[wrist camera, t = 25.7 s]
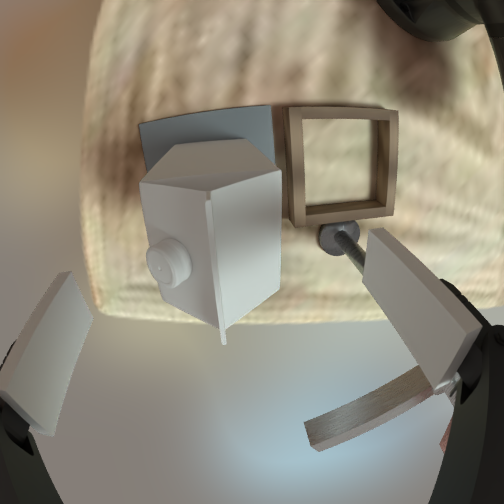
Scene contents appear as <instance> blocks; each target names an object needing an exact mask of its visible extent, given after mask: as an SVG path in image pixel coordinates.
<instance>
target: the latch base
mask: <svg viewBox="0 0 504 504" xmlns="http://www.w3.org/2000/svg"><path fill="white" fill-rule="evenodd" d="M341 230H344V231H346V232H347V233H348V234H349V235H350V236H351V237H352V238H353V239H354V240H355V241H356V242H358V240H359V236H360V229H359V226H358V224H357V222H356V221H355V220H352V221H343V222H335V223H327V224H323V225H322V227H321V229H320V231H319V242H320V245H321V246H322V248H323V249H324V251H325V252H326V253H328V254H330V255H333V256H340V255H344V254H345V253H344V252H343V250H342V249H341V248H340V247H339V245H338V244H337V243H336V242H335V239H334V238H335V235H336V233H337V232H339V231H341Z"/></svg>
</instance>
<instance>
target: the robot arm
mask: <svg viewBox="0 0 504 504" xmlns="http://www.w3.org/2000/svg"><path fill="white" fill-rule="evenodd" d="M377 2H378V3H379V4H380V6H381V7H382V8H383V10H384V11H385V12H386V13H387V14H388V15H389V16H390V17H391V18H392V19H393V20H394V21H395V22H396V23H397V24H398V25H399V26H400V27H402V28H403V29H404V30H406V31H407V32H409V33H410V34H412V35H414V36H416V37H418V38H420V39H423V40H426V41H430V42H439V41H448V40H451V39H454V38H456V37H458V36H459V35H461V34H462V33H464V32H466V31H467V30H469V29H470V28H472V27H474V26H475V25H478V24H484V25H485V28H486V30H487V33H488V36H489V39H490V42H491V45H492V48H493V51H494V54H495V58H496V61H497V64H498V68H499V72H500V76H501V81H502V85H503V90H504V0H377ZM362 282H363V284H364V285H365V286H366V288H367V289H368V291H369V292H370V293H371V295H372V296H373V297H374V299H375V300H376V302H377V303H378V305H379V306H380V307H381V309H382V310H383V312H384V313H385V315H386V316H387V317H388V319H389V320H390V322H391V323H392V325H393V326H394V328H395V329H396V331H397V332H398V334H399V335H400V337H401V338H402V339H403V341H404V343H405V344H406V346H407V347H408V349H409V350H410V352H411V353H412V355H413V357H414V358H415V359H416V361H417V363H418V364H419V366H420V368H421V369H422V371H423V373H424V374H425V376H426V377H427V379H428V381H429V382H430V384H431V386H432V387H433V389H434V390H436V389H438V388H440V387H442V386H444V385H446V384H448V383H450V382H451V380H452V379H453V377H454V375H455V374H456V372H458V374H459V375H460V377H461V378H460V379H459V381H458V382H457V383H456V385H455V386H454V388H453V389H452V391H451V392H450V395H449V397H452V396H453V394H454V393H455V391H456V390H457V392H456V396H455V398H456V399H455V406H454V412H453V417H452V423H451V428H450V433H449V437H448V441H447V446H446V450H445V454H444V457H443V461H442V465H441V468H440V471H439V475H438V478H437V481H436V484H435V487H434V490H433V493H432V496H431V498H430V501H429V503H428V504H504V326H503V325H494V326H491V325H490V323H489V322H488V321H487V320H486V319H485V318H484V317H483V316H482V315H481V313H480V312H479V311H478V310H477V309H476V308H475V307H474V306H473V305H472V304H471V303H470V302H468V299H467V298H466V297H465V296H464V295H461V292H460V291H459V290H458V289H457V288H456V287H455V286H454V285H453V284H451V283H449V282H447V281H446V280H444V279H438V278H437V277H436V276H435V275H434V274H433V273H432V272H431V271H430V270H429V269H428V268H427V267H426V266H425V265H424V264H423V263H422V262H421V261H420V260H419V259H418V258H417V257H415V256H414V255H413V254H412V253H411V252H410V251H409V250H408V249H407V248H406V247H405V246H404V245H402V244H401V243H400V242H399V241H398V240H397V239H396V238H395V237H393V236H392V235H391V234H390V233H389V232H388V231H387V230H385V229H384V228H376V229H369V231H368V241H367V249H366V258H365V265H364V272H363V279H362ZM92 321H93V316H92V314H91V312H90V310H89V309H88V306H87V304H86V302H85V300H84V298H83V296H82V294H81V291H80V289H79V287H78V285H77V283H76V280H75V278H74V276H73V273H72V272H71V271H69V272H62V273H59V274H58V275H57V277H56V278H55V280H54V281H53V282H52V284H51V285H50V287H49V288H48V290H47V291H46V292H45V294H44V295H43V297H42V299H41V300H40V302H39V303H38V305H37V306H36V308H35V309H34V311H33V313H32V314H31V316H30V318H29V319H28V321H27V323H26V324H25V326H24V328H23V329H22V331H21V333H20V335H19V336H18V339H17V340H16V341H15V342H14V343H13V344H12V345H11V347H10V349H9V351H8V353H7V356H6V357H5V358H4V360H3V364H1V366H0V504H63V502H62V500H61V498H60V496H59V494H58V493H57V490H56V489H55V487H54V484H53V483H52V480H51V478H50V476H49V474H48V472H47V470H46V467H45V465H44V463H43V460H42V458H41V455H40V453H39V450H38V448H37V445H36V443H35V440H34V437H33V435H32V434H31V433H30V432H29V431H28V430H29V426H31V427H33V428H34V429H35V430H36V431H37V432H38V433H40V434H44V435H48V436H53V437H54V433H55V429H56V426H57V422H58V418H59V415H60V411H61V408H62V404H63V401H64V397H65V394H66V391H67V388H68V385H69V382H70V379H71V376H72V373H73V370H74V367H75V365H76V362H77V359H78V356H79V354H80V351H81V348H82V345H83V343H84V341H85V338H86V335H87V333H88V331H89V328H90V326H91V323H92Z"/></svg>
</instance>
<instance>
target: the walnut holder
mask: <svg viewBox="0 0 504 504" xmlns="http://www.w3.org/2000/svg"><path fill="white" fill-rule="evenodd" d="M282 109H283V122H284V136H285V151H286V168H287V186H288V208H289V220H290V221H291V223H292V224H293V226H294V227H295V228H296V227H304V226H312V225H320V224H327V223H335V222H343V221H352V220H360V219H368V218H377V217H385V216H393V214H394V204H395V193H396V181H397V165H398V131H399V119H398V111H396V110H388V109H376V108H361V107H329V106H311V107H282ZM302 119H371V120H378V167H377V188H376V200H368V201H357V202H347V203H337V204H327V205H318V206H309V207H305V172H304V148H303V129H302Z"/></svg>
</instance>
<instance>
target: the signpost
mask: <svg viewBox="0 0 504 504" xmlns="http://www.w3.org/2000/svg"><path fill="white" fill-rule="evenodd" d="M334 239H335V242H336V243H337V244H338V245H339V247H340V248H341V249H342V250H343V252H344V253H345V254H346V255H347V256H348V258H349V259H350V260H351V261H352V263H353V264H354V265H355V266H356V268H357V269H358V270H359V271H360V273H361V274H362V275H363V272H364V265H365V258H366V252H365V251H364V250H363V249H362V248H361V247H360V246H359V245H358V244H357V242H356V241H355V240H354V239H353V238H352V237H351V236H350V235H349V234H348V233H347V232H346V231H344V230H341V231H339V232H337V233H336V235H335V238H334ZM460 378H461V377H460V375H459V374H458V372H456V374H455V375H454V377H453V379H452V380H451V382H450V383H448V384H446V385H444V386H442V387H440V388H438V389H436V390H434V389H433V387H432V386H431V384H430V382H429V381H428V379H427V377H426V376H425V374H424V373H423V371H422V369H421V368H420V366H419V365H417V366H416V367H414V368H412V369H411V370H409V371H407V372H406V373H404V374H403V375H401V376H399V377H398V378H396V379H394V380H392V381H390V382H389V383H387V384H385V385H383V386H381V387H380V388H378V389H376V390H374V391H372V392H370V393H368V394H366V395H364V396H362V397H360V398H358V399H356V400H354V401H352V402H350V403H348V404H346V405H343V406H341V407H339V408H337V409H335V410H332V411H330V412H328V413H325V414H323V415H321V416H318V417H316V418H313V419H311V420H308V421H306V422H304V425H305V428H306V432H307V435H308V439H309V442H310V446H311V447H313V448H314V449H315V450H317V451H318V452H320V451H323V450H325V449H328V448H331V447H333V446H336V445H338V444H340V443H343V442H345V441H348V440H350V439H352V438H354V437H357V436H359V435H361V434H363V433H365V432H367V431H369V430H371V429H374V428H375V427H378V426H380V425H382V424H384V423H385V422H387V421H389V420H391V419H393V418H395V417H397V416H398V415H400V414H402V413H404V412H405V411H407V410H409V409H411V408H412V407H414V406H416V405H417V404H419V403H421V402H422V401H424V400H425V399H427V398H429V397H430V396H432V395H433V394H435V395H439V394H441V393H444V392H445V393H446V395H447V396H448V398H449V400H450V401H451V403H452V405H453V406H455V399H456V398H455V396H456V392H457V390H456V391H455V393H454V394H453V396H452V397H449V395H450V392H451V391H452V389H453V388H454V386H455V385H456V383H457V382H458V381H459V379H460ZM452 417H453V416H452ZM451 423H452V418H451V420H450V423H449V425H448V427H447V429H446V432H445V434H444V436H443V438H442V440H441V442H440V446H441V449H442V451H443V452H444V454H445V450H446V446H447V441H448V437H449V433H450V428H451Z"/></svg>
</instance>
